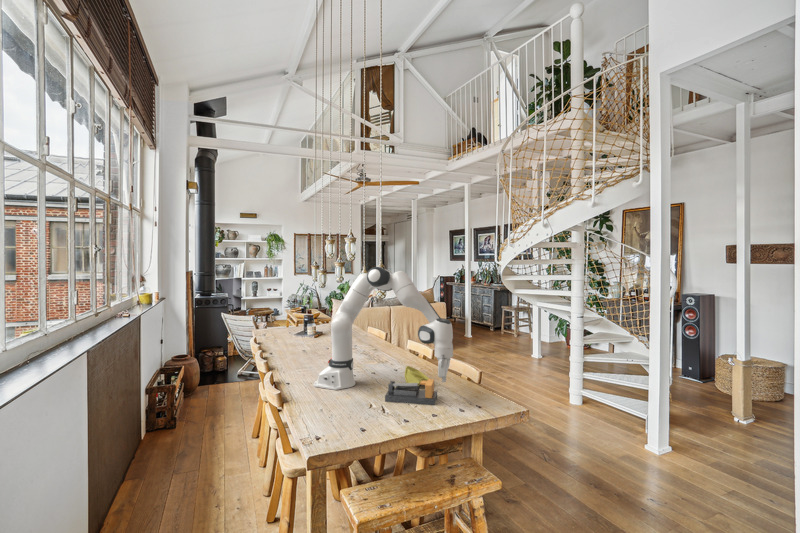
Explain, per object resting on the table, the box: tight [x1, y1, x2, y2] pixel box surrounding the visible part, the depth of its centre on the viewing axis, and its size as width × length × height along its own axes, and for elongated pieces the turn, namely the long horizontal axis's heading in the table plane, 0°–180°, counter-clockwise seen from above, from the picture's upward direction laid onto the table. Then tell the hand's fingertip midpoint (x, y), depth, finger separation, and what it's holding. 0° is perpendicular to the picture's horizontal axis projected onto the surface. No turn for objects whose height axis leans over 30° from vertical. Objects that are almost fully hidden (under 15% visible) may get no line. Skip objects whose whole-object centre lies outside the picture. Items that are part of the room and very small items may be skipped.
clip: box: [420, 378, 435, 398], centre depth 191 cm, size 6×10×6 cm, turn 168°
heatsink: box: [384, 380, 438, 406], centre depth 192 cm, size 24×11×8 cm, turn 78°
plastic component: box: [404, 365, 431, 387], centre depth 217 cm, size 20×7×10 cm
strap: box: [391, 382, 418, 387], centre depth 193 cm, size 14×2×1 cm, turn 78°
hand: (444, 381), depth 189 cm, fingers closed
